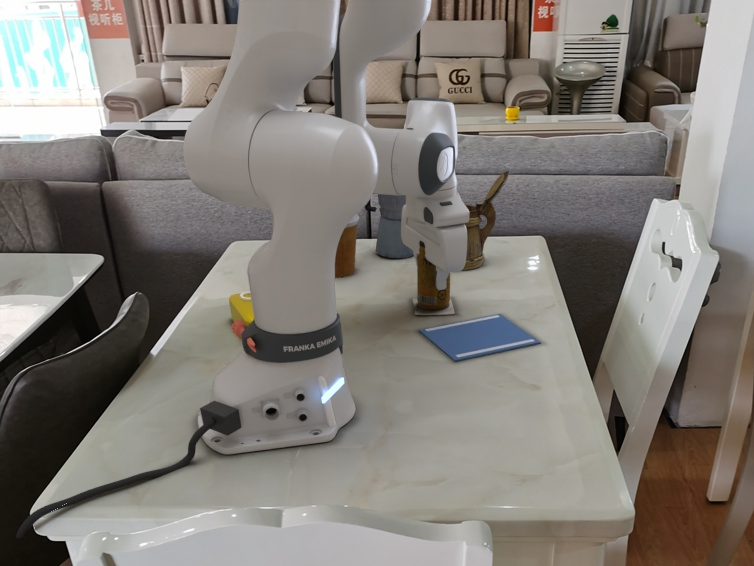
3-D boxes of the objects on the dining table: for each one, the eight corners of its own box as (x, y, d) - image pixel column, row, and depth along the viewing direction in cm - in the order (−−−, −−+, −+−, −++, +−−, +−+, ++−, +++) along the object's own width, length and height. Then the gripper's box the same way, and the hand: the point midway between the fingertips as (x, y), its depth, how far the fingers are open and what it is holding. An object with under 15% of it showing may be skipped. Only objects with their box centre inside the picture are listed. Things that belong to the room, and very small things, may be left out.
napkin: (455, 361, 125) (455, 359, 125) (419, 331, 136) (419, 329, 135) (540, 343, 130) (540, 341, 130) (499, 315, 140) (500, 313, 140)
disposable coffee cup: (321, 264, 166) (316, 205, 159) (365, 265, 165) (362, 205, 158) (311, 279, 159) (306, 218, 151) (357, 280, 157) (354, 218, 150)
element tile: (251, 347, 132) (247, 320, 129) (229, 318, 143) (225, 292, 140) (334, 331, 137) (332, 304, 134) (307, 303, 148) (304, 278, 145)
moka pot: (429, 259, 167) (429, 158, 155) (358, 261, 167) (352, 160, 155) (429, 246, 174) (429, 148, 162) (360, 247, 175) (355, 150, 163)
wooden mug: (506, 269, 160) (512, 175, 149) (441, 271, 161) (441, 177, 150) (502, 256, 167) (507, 165, 156) (440, 257, 168) (440, 167, 157)
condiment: (450, 298, 148) (451, 233, 141) (455, 314, 141) (456, 247, 134) (412, 299, 148) (411, 234, 141) (415, 316, 141) (414, 249, 134)
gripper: (391, 191, 141) (393, 268, 149) (439, 219, 126) (439, 303, 134) (423, 187, 143) (423, 263, 151) (474, 214, 128) (472, 296, 136)
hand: (431, 282), depth 143 cm, fingers closed on condiment, 6 cm apart
